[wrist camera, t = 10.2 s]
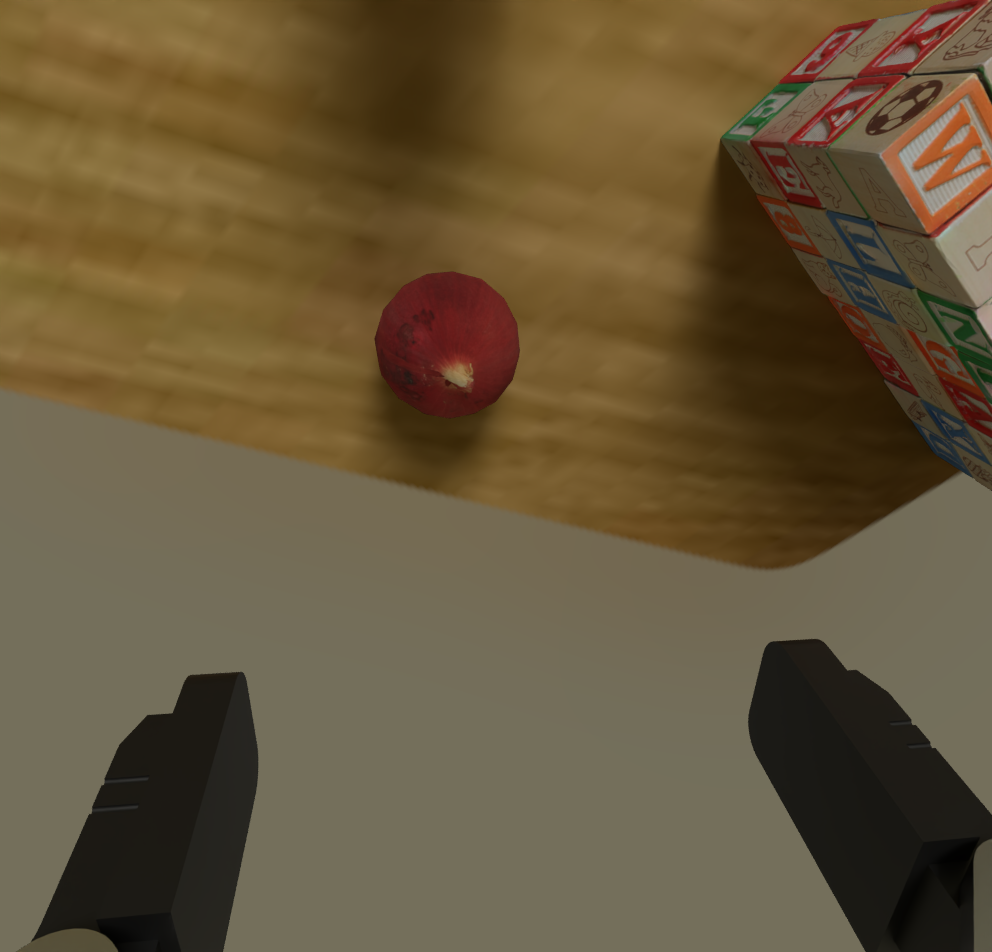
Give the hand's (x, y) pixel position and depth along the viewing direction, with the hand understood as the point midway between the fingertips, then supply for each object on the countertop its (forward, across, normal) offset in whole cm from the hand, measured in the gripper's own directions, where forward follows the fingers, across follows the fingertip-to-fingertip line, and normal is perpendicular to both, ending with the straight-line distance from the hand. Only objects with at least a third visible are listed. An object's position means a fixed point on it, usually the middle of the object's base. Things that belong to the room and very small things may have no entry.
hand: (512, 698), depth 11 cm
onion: (+24, 0, 0) cm, 25 cm away
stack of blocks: (+25, -22, -2) cm, 33 cm away
